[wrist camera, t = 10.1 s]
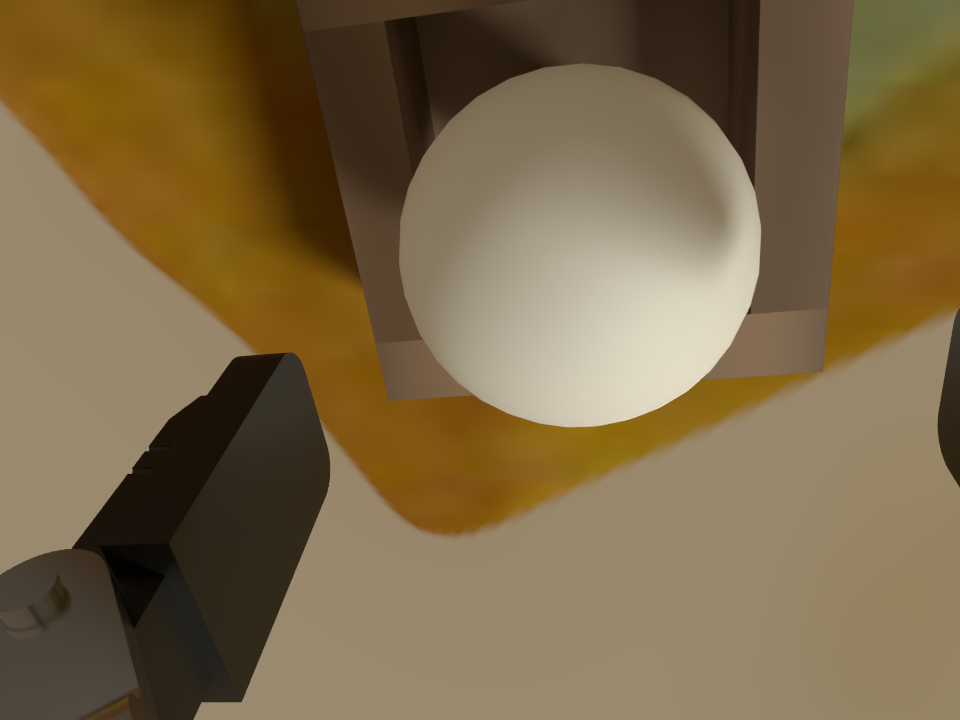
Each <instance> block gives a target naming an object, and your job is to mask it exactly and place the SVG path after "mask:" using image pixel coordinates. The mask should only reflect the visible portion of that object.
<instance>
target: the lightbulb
mask: <svg viewBox="0 0 960 720" xmlns="http://www.w3.org/2000/svg"><path fill="white" fill-rule="evenodd" d="M760 243H761V224H760V218H759V212H758V206H757V200H756V194H755V191H754V188H753V186H752V183H751V181H750V179H749V176H748V174H747V171H746V169H745V166H744V164H743V162H742V159H741V158H740V156H739V155H738V153H737V152H736V150H735V149H734V147H733V146H732V145H731V143H730V142H729V140H728V139H727V137H726V136H725V135H724V133H723V132H722V130H721V129H720V128H719V126H718V125H717V123H716V122H715V121H714V120H713V119H712V118H711V117H710V116H709V115H708V114H706V113H705V112H704V111H703V110H702V109H701V108H700V107H699V106H698V105H697V104H695V103H694V102H693V101H692V100H691V99H690V98H689V97H687V96H686V95H684V94H682V93H680V92H679V91H677V90H675V89H673V88H672V87H670V86H668V85H666V84H665V83H663V82H661V81H660V80H658V79H656V78H653V77H650V76H646V75H643V74H640V73H637V72H634V71H631V70H628V69H625V68H621V67H614V66H604V65H594V64H584V63H581V64H572V65H562V66H553V67H544V68H541V69H538V70H535V71H532V72H529V73H526V74H522V75H519V76H516V77H513V78H510V79H508V80H506V81H504V82H502V83H501V84H499V85H497V86H495V87H494V88H492V89H490V90H488V91H486V92H485V93H483V94H481V95H479V96H477V97H476V98H475V99H474V100H473V101H472V102H470V103H469V104H468V105H467V106H466V107H465V108H463V109H462V110H461V111H460V112H459V113H458V114H457V115H455V116H454V117H453V118H452V119H451V120H450V121H449V122H448V123H447V125H446V126H445V127H444V129H443V130H442V131H441V133H440V134H439V135H438V137H437V138H436V139H435V141H434V142H433V143H432V144H431V146H430V147H429V148H428V150H427V151H426V153H425V154H424V156H423V158H422V160H421V162H420V164H419V166H418V168H417V170H416V172H415V174H414V177H413V179H412V181H411V183H410V185H409V187H408V191H407V195H406V199H405V203H404V207H403V211H402V215H401V220H400V248H399V267H400V273H401V278H402V284H403V290H404V295H405V298H406V301H407V303H408V306H409V308H410V311H411V314H412V316H413V319H414V321H415V324H416V326H417V328H418V331H419V333H420V335H421V337H422V338H423V340H424V342H425V343H426V345H427V346H428V348H429V349H430V351H431V353H432V354H433V356H434V357H435V359H436V360H437V361H438V363H439V364H440V365H441V366H442V367H443V368H444V369H445V370H446V371H447V372H448V373H449V374H450V375H451V376H452V377H453V378H454V380H455V381H456V382H457V383H459V384H460V385H461V386H463V387H464V388H466V389H467V390H468V391H470V392H471V393H472V394H474V395H475V396H476V397H478V398H479V399H480V400H482V401H484V402H486V403H488V404H490V405H492V406H494V407H496V408H498V409H500V410H502V411H504V412H506V413H508V414H511V415H514V416H517V417H520V418H524V419H527V420H530V421H534V422H537V423H540V424H548V425H556V426H564V427H587V426H601V425H605V424H610V423H615V422H620V421H625V420H629V419H632V418H635V417H637V416H640V415H642V414H645V413H648V412H650V411H653V410H655V409H658V408H660V407H662V406H664V405H665V404H667V403H669V402H670V401H672V400H674V399H675V398H677V397H679V396H680V395H682V394H684V393H685V392H687V391H688V390H689V389H690V388H691V387H693V386H694V385H695V384H696V383H697V382H698V381H699V380H701V379H702V378H703V377H704V376H705V375H706V374H707V373H709V372H710V371H711V370H712V368H713V367H714V366H715V364H716V363H717V362H718V361H719V359H720V358H721V357H722V355H723V354H724V353H725V352H726V350H727V349H728V348H729V347H730V345H731V343H732V341H733V339H734V337H735V335H736V333H737V331H738V329H739V327H740V325H741V323H742V321H743V319H744V317H745V315H746V313H747V311H748V309H749V307H750V305H751V301H752V298H753V294H754V290H755V287H756V283H757V279H758V275H759V264H760Z"/></svg>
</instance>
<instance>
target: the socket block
mask: <svg viewBox="0 0 960 720" xmlns="http://www.w3.org/2000/svg"><path fill="white" fill-rule="evenodd" d="M296 3H297V8H298V12H299V16H300V21H301V25H302V29H303V33H304V38H305V42H306V46H307V51H308V55H309V59H310V64H311V68H312V72H313V76H314V81H315V85H316V89H317V94H318V98H319V102H320V107H321V111H322V115H323V119H324V124H325V128H326V132H327V137H328V141H329V145H330V149H331V154H332V158H333V162H334V167H335V171H336V175H337V180H338V184H339V188H340V192H341V197H342V201H343V205H344V210H345V214H346V218H347V223H348V227H349V231H350V235H351V240H352V244H353V248H354V253H355V257H356V261H357V266H358V270H359V274H360V278H361V283H362V287H363V291H364V296H365V300H366V304H367V309H368V313H369V317H370V321H371V326H372V330H373V334H374V339H375V343H376V347H377V351H378V356H379V360H380V364H381V369H382V373H383V377H384V382H385V386H386V390H387V394H388V399H389V401H394V400H409V399H424V398H439V397H454V396H469V395H474V394H472V393H471V392H470V391H468V390H467V389H466V388H464V387H463V386H461V385H460V384H459V383H457V382H456V381H455V380H454V378H453V377H452V376H451V375H450V374H449V373H448V372H447V371H446V370H445V369H444V368H443V367H442V366H441V365H440V364H439V363H438V361H437V360H436V359H435V357H434V356H433V354H432V353H431V351H430V349H429V348H428V346H427V345H426V343H425V342H424V340H423V338H422V337H421V335H420V333H419V331H418V328H417V326H416V324H415V321H414V319H413V316H412V314H411V311H410V308H409V306H408V303H407V301H406V298H405V295H404V290H403V284H402V278H401V273H400V267H399V248H400V220H401V215H402V211H403V207H404V203H405V199H406V195H407V191H408V187H409V185H410V183H411V181H412V179H413V177H414V174H415V172H416V170H417V168H418V166H419V164H420V162H421V160H422V158H423V156H424V154H425V153H426V151H427V150H428V148H429V147H430V146H431V144H432V143H433V142H434V141H435V139H436V138H437V137H438V135H439V134H440V133H441V131H442V130H443V129H444V127H445V126H446V125H447V123H448V122H449V121H450V120H451V119H452V118H453V117H454V116H455V115H457V114H458V113H459V112H460V111H461V110H462V109H463V108H465V107H466V106H467V105H468V104H469V103H470V102H472V101H473V100H474V99H475V98H476V97H477V96H479V95H481V94H483V93H485V92H486V91H488V90H490V89H492V88H494V87H495V86H497V85H499V84H501V83H502V82H504V81H506V80H508V79H510V78H513V77H516V76H519V75H522V74H526V73H529V72H532V71H535V70H538V69H541V68H544V67H553V66H562V65H572V64H581V63H584V64H594V65H604V66H614V67H621V68H625V69H628V70H631V71H634V72H637V73H640V74H643V75H646V76H650V77H653V78H656V79H658V80H660V81H661V82H663V83H665V84H666V85H668V86H670V87H672V88H673V89H675V90H677V91H679V92H680V93H682V94H684V95H686V96H687V97H689V98H690V99H691V100H692V101H693V102H694V103H695V104H697V105H698V106H699V107H700V108H701V109H702V110H703V111H704V112H705V113H706V114H708V115H709V116H710V117H711V118H712V119H713V120H714V121H715V122H716V123H717V125H718V126H719V128H720V129H721V130H722V132H723V133H724V135H725V136H726V137H727V139H728V140H729V142H730V143H731V145H732V146H733V147H734V149H735V150H736V152H737V153H738V155H739V156H740V158H741V159H742V162H743V164H744V166H745V169H746V171H747V174H748V176H749V179H750V181H751V183H752V186H753V188H754V191H755V194H756V200H757V206H758V212H759V218H760V224H761V243H760V264H759V275H758V279H757V283H756V287H755V290H754V294H753V298H752V301H751V305H750V307H749V309H748V311H747V313H746V315H745V317H744V319H743V321H742V323H741V325H740V327H739V329H738V331H737V333H736V335H735V337H734V339H733V341H732V343H731V345H730V347H729V348H728V349H727V350H726V352H725V353H724V354H723V355H722V357H721V358H720V359H719V361H718V362H717V363H716V364H715V366H714V367H713V368H712V370H711V371H710V372H709V373H707V374H706V375H705V376H704V377H703V378H702V379H701V380H707V379H722V378H737V377H752V376H767V375H782V374H797V373H812V372H823V365H824V353H825V341H826V329H827V317H828V305H829V293H830V281H831V269H832V257H833V245H834V233H835V221H836V208H837V196H838V184H839V172H840V160H841V148H842V136H843V124H844V112H845V100H846V88H847V76H848V64H849V52H850V40H851V28H852V16H853V4H854V0H296Z"/></svg>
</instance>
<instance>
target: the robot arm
mask: <svg viewBox="0 0 960 720" xmlns="http://www.w3.org/2000/svg"><path fill="white" fill-rule="evenodd" d="M938 437H939V443H940V448H941V452H942V455H943V458H944V461H945V463H946V465H947V467H948V469H949V471H950V472H951V474H952V476H953V477H954V479H955V481H956V482H957V484H958V485H959V487H960V308H959V310H958V312H957V314H956V317H955V320H954V325H953V331H952V336H951V342H950V349H949V355H948V360H947V366H946V372H945V378H944V384H943V389H942V395H941V401H940V407H939V413H938ZM132 469H133V473H132V474H127V476H126V477H125V479H124V480H123V481H122V482H121V484H120V485H119V486H118V488H117V489H116V490H115V492H114V493H113V494H112V496H111V497H110V498H109V500H108V501H107V502H106V504H105V505H104V506H103V508H102V509H101V510H100V512H99V513H98V514H97V516H96V517H95V518H94V519H93V521H92V522H91V523H90V525H89V526H88V527H87V529H86V530H85V531H84V533H83V534H82V536H81V537H80V538H79V539H78V541H77V542H76V543H75V545H74V546H73V547H72V549H65V550H58V551H53V552H50V553H46V554H42V555H39V556H37V557H34V558H31V559H29V560H27V561H24V562H22V563H20V564H18V565H16V566H14V567H12V568H11V569H9V570H7V571H6V572H4V573H2V574H1V575H0V720H193V719H194V717H195V715H196V713H197V711H198V709H199V706H200V704H201V702H242V700H243V698H244V695H245V693H246V690H247V688H248V685H249V683H250V680H251V678H252V675H253V673H254V670H255V668H256V666H257V663H258V661H259V658H260V656H261V653H262V651H263V649H264V646H265V644H266V641H267V639H268V636H269V634H270V631H271V629H272V626H273V624H274V622H275V619H276V617H277V614H278V612H279V610H280V607H281V605H282V602H283V599H284V597H285V594H286V592H287V590H288V588H289V585H290V583H291V580H292V578H293V575H294V573H295V570H296V568H297V565H298V563H299V561H300V558H301V556H302V553H303V551H304V548H305V546H306V543H307V541H308V539H309V536H310V534H311V531H312V528H313V526H314V524H315V521H316V519H317V517H318V514H319V512H320V509H321V507H322V504H323V502H324V499H325V497H326V494H327V491H328V487H329V481H330V458H329V452H328V447H327V443H326V440H325V437H324V433H323V430H322V427H321V423H320V420H319V417H318V413H317V410H316V407H315V403H314V400H313V397H312V394H311V390H310V387H309V384H308V380H307V377H306V374H305V370H304V368H303V365H302V363H301V361H300V359H299V358H298V357H297V356H296V355H295V354H294V353H277V354H264V355H251V356H240V357H236V358H234V359H233V360H232V361H231V362H230V364H229V365H228V367H227V368H226V370H225V371H224V372H223V374H222V375H221V376H220V378H219V379H218V381H217V382H216V384H215V385H214V386H213V388H212V389H211V390H210V392H209V393H208V395H206V396H200V397H198V398H197V399H196V400H194V401H193V402H192V403H191V404H189V405H188V406H186V407H185V408H184V409H182V410H181V411H180V412H179V413H177V414H176V415H175V416H173V417H172V418H170V419H169V420H168V422H167V423H166V424H165V425H164V427H163V428H162V430H161V431H160V432H159V434H158V435H157V436H156V437H155V439H154V440H153V441H152V443H151V444H150V445H149V451H146V452H144V453H143V455H142V456H141V457H140V459H139V460H138V461H137V463H136V464H135V465H134V467H133V468H132Z"/></svg>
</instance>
